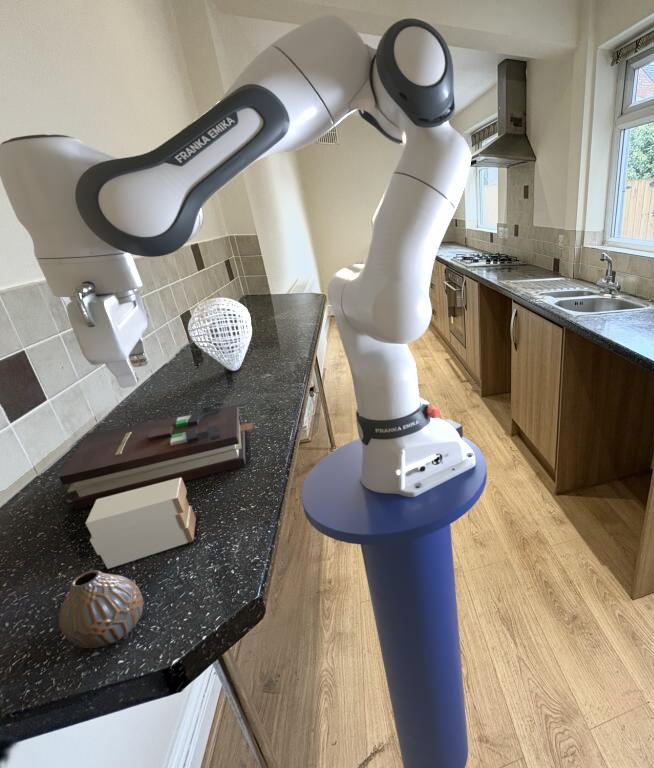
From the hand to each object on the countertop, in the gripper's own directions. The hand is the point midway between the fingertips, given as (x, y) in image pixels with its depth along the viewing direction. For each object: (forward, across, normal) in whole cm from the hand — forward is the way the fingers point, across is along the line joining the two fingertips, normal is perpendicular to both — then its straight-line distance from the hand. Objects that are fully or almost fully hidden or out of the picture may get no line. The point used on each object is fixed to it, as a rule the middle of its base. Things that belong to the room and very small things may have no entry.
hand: (136, 374), depth 59 cm
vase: (+26, -21, +7) cm, 34 cm away
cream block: (+20, -5, +4) cm, 21 cm away
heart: (+26, +77, -7) cm, 82 cm away
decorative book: (+26, +21, +4) cm, 33 cm away
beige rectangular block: (+25, -5, +5) cm, 26 cm away
